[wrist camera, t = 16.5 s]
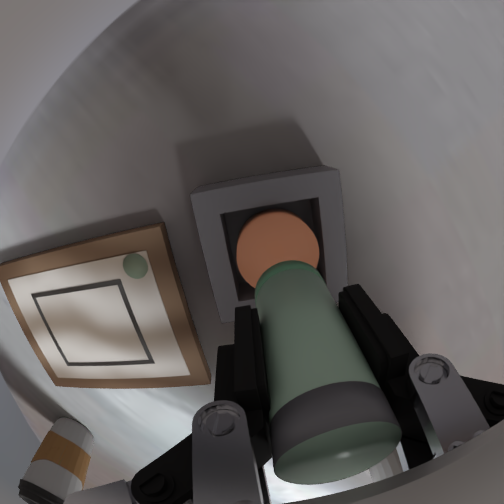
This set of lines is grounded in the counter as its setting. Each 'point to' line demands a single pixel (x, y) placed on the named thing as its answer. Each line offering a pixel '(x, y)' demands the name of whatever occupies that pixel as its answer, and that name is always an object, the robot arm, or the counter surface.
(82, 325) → the drawing board
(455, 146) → the counter surface
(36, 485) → the coffee cup
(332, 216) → the button housing
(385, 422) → the sage green marker
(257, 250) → the button
